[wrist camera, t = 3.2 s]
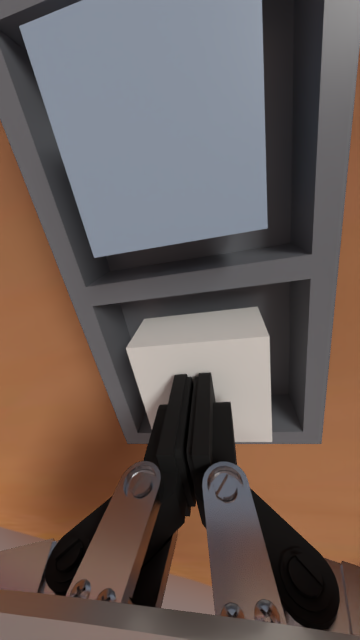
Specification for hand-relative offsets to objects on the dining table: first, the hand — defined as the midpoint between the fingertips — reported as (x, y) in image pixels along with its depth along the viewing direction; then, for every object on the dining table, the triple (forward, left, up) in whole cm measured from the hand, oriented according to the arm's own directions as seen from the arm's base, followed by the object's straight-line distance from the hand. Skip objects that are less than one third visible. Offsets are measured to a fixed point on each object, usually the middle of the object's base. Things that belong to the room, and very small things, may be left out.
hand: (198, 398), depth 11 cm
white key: (0, 0, -3) cm, 3 cm away
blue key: (0, -10, -3) cm, 10 cm away
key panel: (0, -5, -6) cm, 8 cm away
